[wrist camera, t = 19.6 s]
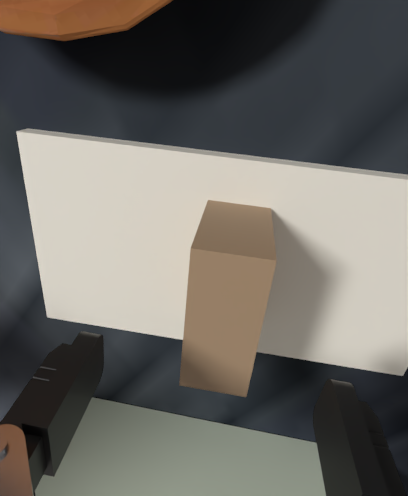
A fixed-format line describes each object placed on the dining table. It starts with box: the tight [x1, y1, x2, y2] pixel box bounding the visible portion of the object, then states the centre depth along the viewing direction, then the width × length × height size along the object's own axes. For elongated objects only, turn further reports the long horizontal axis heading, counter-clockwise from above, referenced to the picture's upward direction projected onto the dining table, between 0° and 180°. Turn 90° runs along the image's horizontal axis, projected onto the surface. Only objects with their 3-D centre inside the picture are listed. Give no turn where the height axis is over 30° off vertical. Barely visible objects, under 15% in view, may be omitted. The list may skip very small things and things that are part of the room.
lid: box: [16, 129, 408, 397], centre depth 16 cm, size 22×11×6 cm, turn 85°
